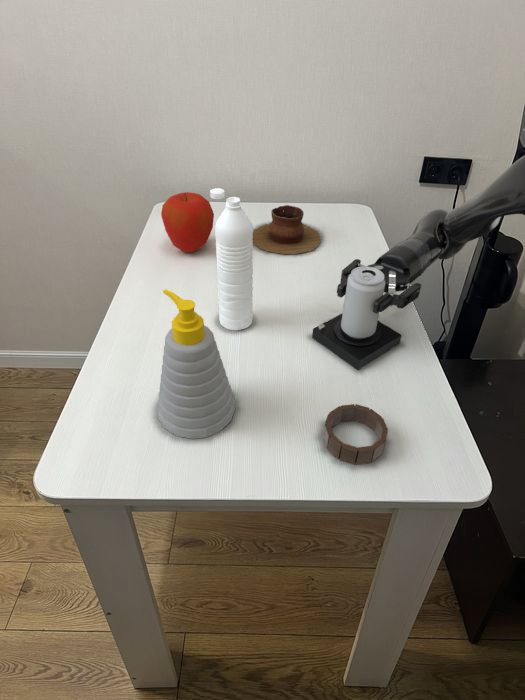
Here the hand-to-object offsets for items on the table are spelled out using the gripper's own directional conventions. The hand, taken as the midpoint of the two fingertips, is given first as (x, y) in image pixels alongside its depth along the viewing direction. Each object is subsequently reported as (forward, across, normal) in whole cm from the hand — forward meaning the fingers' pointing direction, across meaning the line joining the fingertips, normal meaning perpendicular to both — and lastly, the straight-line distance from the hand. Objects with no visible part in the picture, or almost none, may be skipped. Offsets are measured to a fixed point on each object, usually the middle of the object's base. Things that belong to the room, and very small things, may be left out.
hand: (357, 300), depth 84 cm
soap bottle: (+30, -10, +10) cm, 33 cm away
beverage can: (-2, 0, +8) cm, 8 cm away
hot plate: (-2, 0, +10) cm, 11 cm away
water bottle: (+8, -22, +10) cm, 26 cm away
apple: (-6, -49, +10) cm, 51 cm away
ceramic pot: (-26, -36, +10) cm, 45 cm away
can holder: (+18, +13, +10) cm, 24 cm away
